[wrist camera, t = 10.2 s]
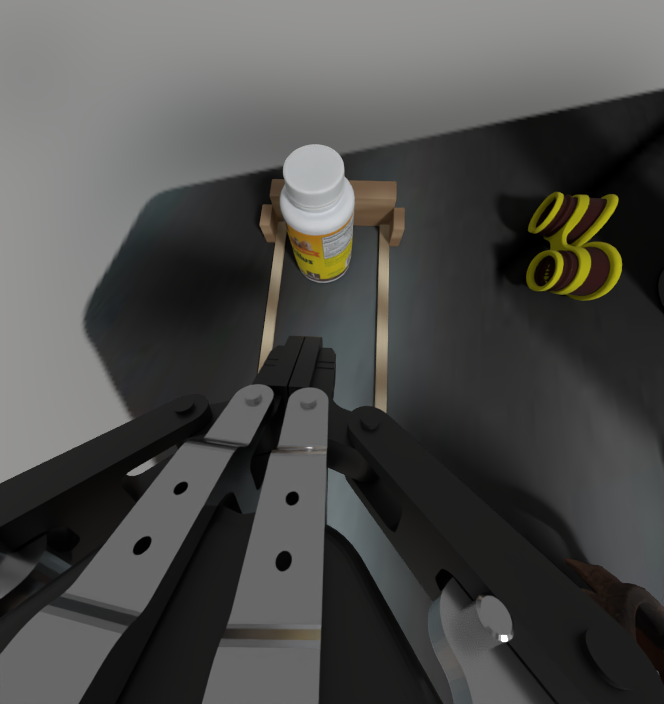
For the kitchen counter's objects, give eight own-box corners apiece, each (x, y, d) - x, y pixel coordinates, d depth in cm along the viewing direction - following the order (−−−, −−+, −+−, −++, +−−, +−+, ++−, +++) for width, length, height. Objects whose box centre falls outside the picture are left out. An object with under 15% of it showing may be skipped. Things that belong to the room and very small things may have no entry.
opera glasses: (520, 217, 26) (562, 173, 21) (572, 224, 25) (628, 181, 20) (516, 300, 24) (561, 272, 19) (573, 309, 23) (634, 283, 18)
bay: (397, 416, 22) (407, 418, 18) (243, 405, 22) (226, 405, 19) (398, 210, 26) (407, 181, 23) (272, 207, 27) (262, 178, 24)
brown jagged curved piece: (461, 541, 20) (592, 577, 13) (530, 537, 23) (663, 564, 17) (501, 796, 14) (765, 1084, 8) (584, 740, 18) (817, 905, 11)
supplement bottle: (288, 253, 26) (255, 155, 16) (334, 230, 26) (330, 120, 16) (313, 294, 25) (294, 218, 15) (360, 270, 25) (373, 178, 15)
